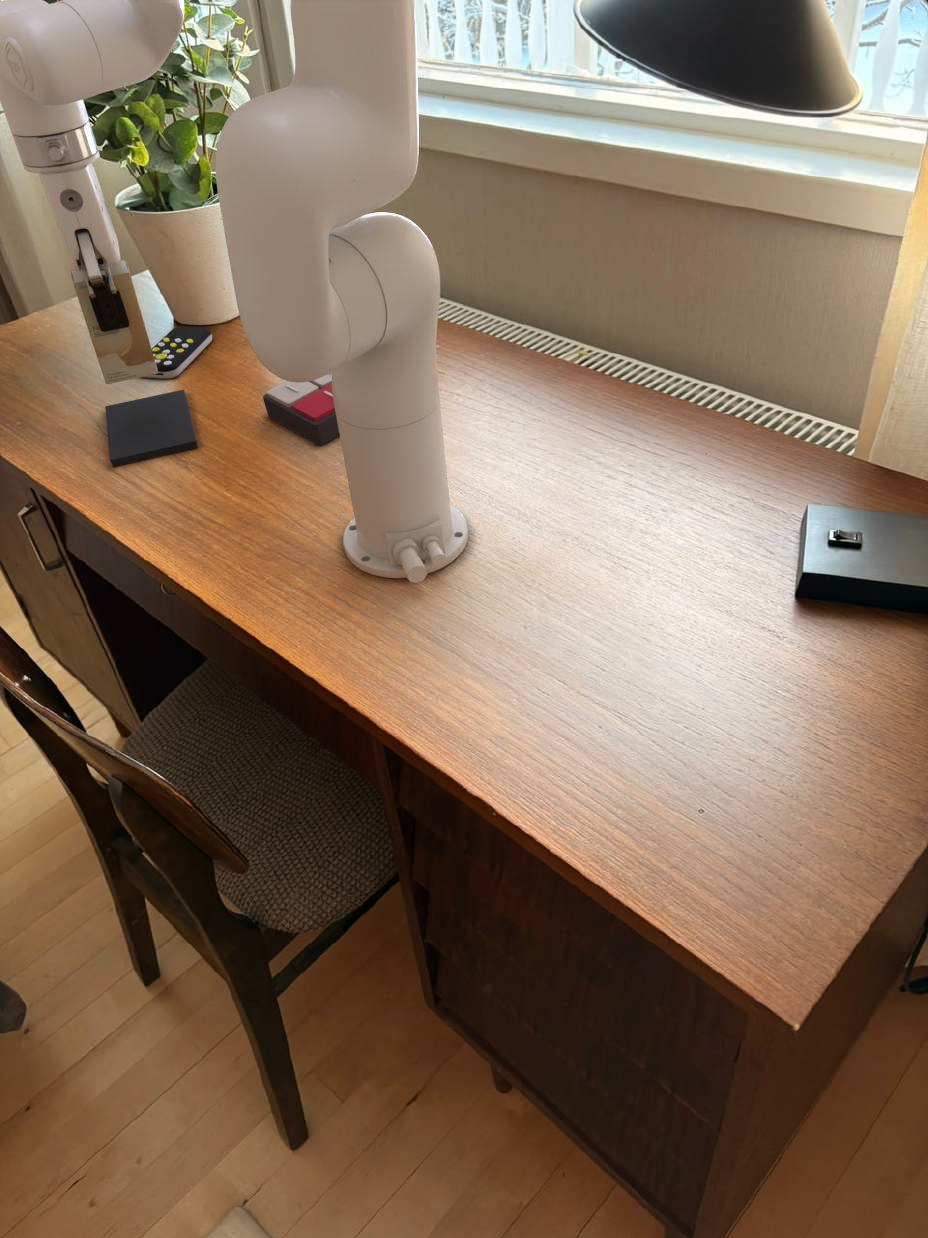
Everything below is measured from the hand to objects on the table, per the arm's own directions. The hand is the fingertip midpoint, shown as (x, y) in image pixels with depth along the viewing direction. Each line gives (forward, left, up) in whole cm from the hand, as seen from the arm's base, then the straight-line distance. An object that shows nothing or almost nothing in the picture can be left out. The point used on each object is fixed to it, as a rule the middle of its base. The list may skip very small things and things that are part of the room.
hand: (114, 317), depth 107 cm
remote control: (+19, -5, -15) cm, 25 cm away
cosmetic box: (0, 0, -7) cm, 7 cm away
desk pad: (0, 0, -14) cm, 14 cm away
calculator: (-5, -23, -15) cm, 28 cm away
